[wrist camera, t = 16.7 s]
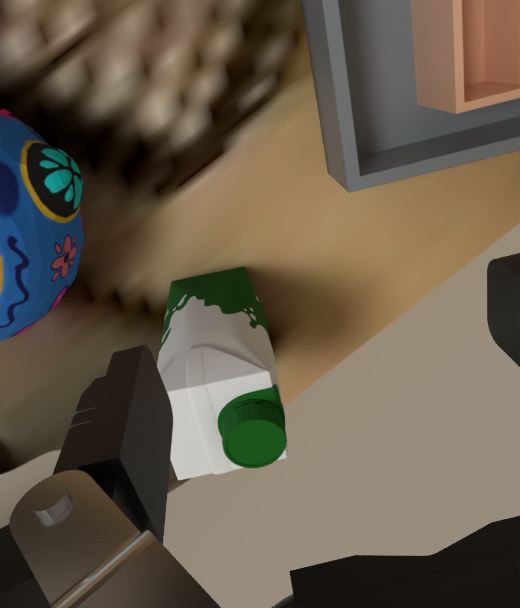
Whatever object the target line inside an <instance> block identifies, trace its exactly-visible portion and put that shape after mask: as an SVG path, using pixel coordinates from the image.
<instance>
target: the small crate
mask: <svg viewBox="0 0 520 608" xmlns="http://www.w3.org/2000/svg"><path fill="white" fill-rule="evenodd" d="M410 4H411V18H412V33H413V47H414V62H415V76H416V91H417V105H419V106H424V107H428V108H433V109H437V110H441V111H446V112H450V113H455V114H458V113H462V112H466V111H470V110H474V109H477V108H481V107H485V106H489V105H493V104H497V103H501V102H505V101H509V100H513V99H517V98H520V0H410Z"/></svg>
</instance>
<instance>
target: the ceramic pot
mask: <svg viewBox="0 0 520 608" xmlns="http://www.w3.org/2000/svg"><path fill="white" fill-rule="evenodd" d="M82 193H83V180H82V176H81V173H80V171H79V169H78V166H77V164H76V163H75V162H74V160H73V159H72V158H71V157H70V156H69V155H68V154H67V153H65V152H64V151H62V150H61V149H58V148H55V147H53V146H50V145H48V144H47V143H46V142H45V141H44V140H43V139H42V138H41V137H40V136H39V135H38V133H37V132H36V131H35V130H34V129H32V128H31V127H30V126H28V125H27V124H25V123H24V122H22V121H20V120H19V119H17V118H16V117H15V116H14V115H13V114H12V113H10V112H9V111H8V110H6V109H3V108H0V341H3V340H5V339H8V338H10V337H13V336H15V335H18V334H20V333H23V332H24V331H26V330H27V329H29V328H30V327H32V326H33V325H34V324H35V323H36V322H38V321H39V320H40V319H41V318H43V317H44V316H45V315H46V314H47V313H49V312H50V311H51V310H52V309H53V308H55V307H56V306H57V305H58V304H59V302H60V301H61V299H62V297H63V296H64V294H65V293H66V291H67V290H68V288H69V287H70V285H71V284H72V282H73V281H74V279H75V278H76V274H77V269H78V265H79V260H80V255H81V250H82V245H83V240H84V235H85V228H84V221H83V214H82V208H81V199H82Z"/></svg>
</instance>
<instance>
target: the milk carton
mask: <svg viewBox="0 0 520 608" xmlns="http://www.w3.org/2000/svg"><path fill="white" fill-rule="evenodd" d="M157 368H158V371H159V373H160V376H161V378H162V381H163V383H164V386H165V388H166V391H167V393H168V396H169V399H170V402H171V406H172V412H173V433H172V444H171V456H170V459H171V462H172V464H173V467H174V470H175V473H176V475H177V478H178V480H182V479H187V478H192V477H196V476H201V475H205V474H210V473H214V474H215V475H216V474H222V473H226V472H229V471H231V470H236V469H240V468H260V467H264V466H267V465H269V464H271V463H273V462H274V461H276V460H280V459H284V458H287V456H288V453H287V444H286V442H287V439H286V432H285V415H284V409H283V405H282V402H281V394H280V388H279V381H278V372H277V367H276V363H275V358H274V354H273V349H272V345H271V341H270V336H269V332H268V328H267V324H266V320H265V317H264V314H263V310H262V307H261V304H260V302H259V299H258V297H257V295H256V293H255V290H254V288H253V286H252V283H251V281H250V279H249V277H248V274H247V272H246V270H245V267H240V268H235V269H230V270H226V271H221V272H216V273H211V274H207V275H202V276H197V277H192V278H187V279H183V280H178V281H173V282H171V287H170V293H169V298H168V304H167V309H166V314H165V320H164V326H163V332H162V339H161V345H160V351H159V357H158V364H157Z"/></svg>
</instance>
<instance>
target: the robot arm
mask: <svg viewBox="0 0 520 608" xmlns="http://www.w3.org/2000/svg"><path fill="white" fill-rule="evenodd" d="M487 320H488V326H489V330H490V333H491V335H492V337H493V339H494V341H495V342H496V343H497V345H498V346H499V347H500V348H501V349H502V350H503V351H504V352H505V353H506V354H507V355H508V356H509V357H510V358H511V359H512V360H513V361H514V362H515V363H516V364H517V365H518V366H519V367H520V253H518V254H514V255H510V256H506V257H502V258H498V259H493V260H492V261H490V263H489V265H488V269H487ZM70 426H71V429H69V431H68V433H67V436H66V439H65V442H64V444H63V447H62V450H61V453H60V455H59V458H58V461H57V464H56V466H55V469H54V472H53V475H52V476H50V477H48V478H46V479H44V480H42V481H41V482H39V483H38V484H37V485H35V486H34V487H33V488H31V489H30V490H29V491H28V492H27V493H26V494H25V495H24V496H23V497H22V498H21V499H20V501H19V502H18V503H17V505H16V506H15V508H14V510H13V512H12V514H11V517H10V522H9V525H7V526H5V527H3V528H1V529H0V608H221V607H220V606H219V605H218V604H217V603H216V602H215V601H214V600H213V599H212V598H211V597H210V596H209V594H208V593H207V592H206V591H205V590H204V589H203V588H202V587H201V586H200V585H199V584H198V583H197V581H196V580H195V579H194V578H193V577H192V576H191V575H190V574H189V573H188V572H187V571H186V569H184V567H183V566H182V565H181V564H180V563H179V562H178V561H177V560H176V559H175V558H174V556H173V555H172V554H171V553H170V552H169V551H168V550H167V549H166V548H165V547H164V546H163V536H164V524H165V512H166V502H167V490H168V479H169V467H170V456H171V444H172V433H173V412H172V406H171V402H170V399H169V396H168V393H167V391H166V388H165V386H164V383H163V381H162V378H161V376H160V373H159V371H158V368H157V366H156V363H155V361H154V358H153V356H152V353H151V351H150V349H149V348H148V346H147V345H142V346H138V347H134V348H130V349H126V350H122V351H118V352H114V353H113V355H112V357H111V360H110V364H109V367H108V370H107V373H106V376H105V377H101V378H97V379H95V380H94V381H93V382H92V384H91V385H90V386H89V387H88V388H87V389H86V390H85V392H84V393H83V394H82V395H81V398H80V401H79V403H78V406H77V409H76V415H74V417H73V420H72V422H71V425H70ZM290 577H291V583H292V589H293V594H292V595H290V596H288V597H287V598H285V599H283V600H282V601H280V602H279V603H277V604H276V605H275V606H273V607H272V608H520V516H517V517H513V518H509V519H504V520H500V521H496V522H492V523H490V524H488V525H486V526H485V527H483V528H481V529H479V530H477V531H476V532H474V533H472V534H470V535H469V536H467V537H465V538H463V539H461V540H460V541H457V542H456V543H454V544H452V545H450V546H448V547H447V548H445V549H443V550H441V551H439V552H438V553H435V554H433V555H429V556H373V555H371V556H370V555H368V556H367V555H355V556H351V557H346V558H342V559H338V560H334V561H329V562H325V563H321V564H317V565H313V566H309V567H304V568H300V569H296V570H292V571H290Z"/></svg>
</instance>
